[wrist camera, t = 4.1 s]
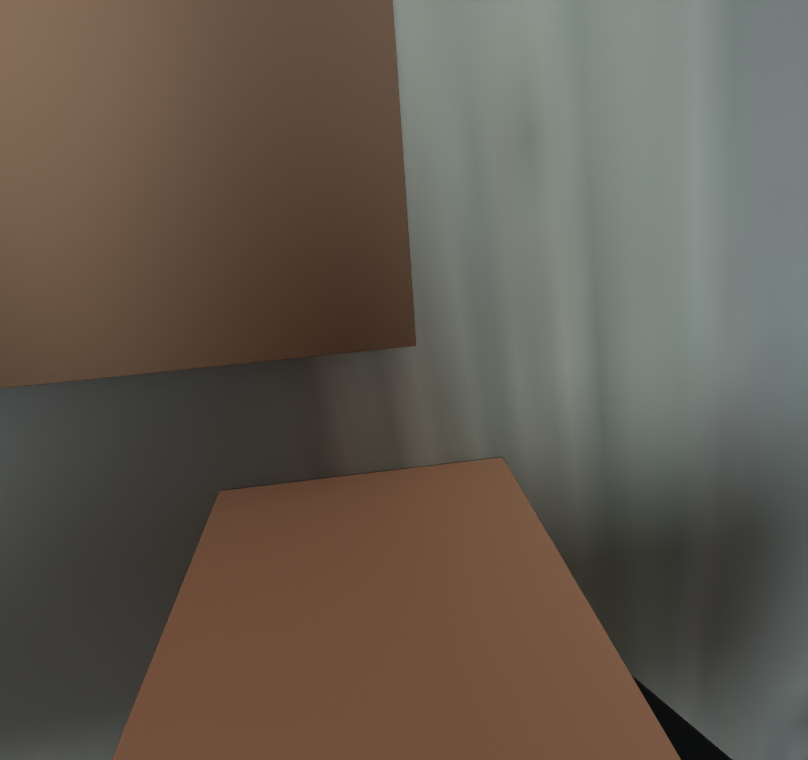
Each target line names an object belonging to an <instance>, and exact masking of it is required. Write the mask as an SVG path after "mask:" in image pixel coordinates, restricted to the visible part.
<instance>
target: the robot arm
mask: <svg viewBox="0 0 808 760" xmlns="http://www.w3.org/2000/svg"><path fill="white" fill-rule="evenodd" d="M631 676H632V675H631ZM632 677H633V676H632ZM633 679H634V681H635V683H636V684H637V686H638V688H639V689H640V691H641V693H642V694H643V696H644V698H645V700H646V701H647V703H648V705H649V706H650V708H651V710H652V711H653V713H654V715H655V716H656V718H657V720H658V722H659V723H660V725H661V727H662V728H663V730H664V732H665V733H666V735H667V737H668V739H669V740H670V742H671V744H672V745H673V747H674V749H675V750H676V752H677V754H678V756H679V757H680V759H681V760H732V759H731V758H730V757H728V756H727V755H726V754H725V753H724V752H722V751H721V750H720V749H719V748H718V747H716V746H715V745H714V744H713V743H712V742H711V741H709V740H708V739H707V738H706V737H705V736H703V735H702V734H701V733H700V732H699V731H697V730H696V729H695V728H694V727H693V726H692V725H690V724H689V723H688V722H687V721H686V720H684V719H683V718H682V717H681V716H680V715H678V714H677V713H676V712H675V711H674V710H672V709H671V708H670V707H669V706H668V705H667V704H665V703H664V702H663V701H662V700H661V699H659V698H658V697H657V696H656V695H655V694H653V693H652V692H651V691H650V690H649V689H648V688H646V687H645V686H644V685H643V684H642V683H640V682H639V681H638V680H637V679H636V678H634V677H633Z"/></svg>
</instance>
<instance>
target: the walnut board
mask: <svg viewBox="0 0 808 760" xmlns="http://www.w3.org/2000/svg"><path fill="white" fill-rule="evenodd" d="M408 346H416V337H415V322H414V308H413V293H412V279H411V264H410V249H409V235H408V220H407V205H406V191H405V176H404V162H403V147H402V132H401V118H400V103H399V88H398V74H397V59H396V45H395V30H394V15H393V1H392V0H0V388H9V387H19V386H28V385H38V384H48V383H58V382H67V381H77V380H87V379H97V378H106V377H116V376H126V375H135V374H145V373H155V372H165V371H174V370H184V369H194V368H204V367H213V366H223V365H233V364H242V363H252V362H262V361H272V360H281V359H291V358H301V357H311V356H320V355H330V354H340V353H349V352H359V351H369V350H379V349H388V348H398V347H408Z"/></svg>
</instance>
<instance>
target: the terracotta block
mask: <svg viewBox="0 0 808 760" xmlns="http://www.w3.org/2000/svg"><path fill="white" fill-rule="evenodd" d="M112 760H681V759H680V757H679V756H678V754H677V752H676V750H675V749H674V747H673V745H672V744H671V742H670V740H669V739H668V737H667V735H666V733H665V732H664V730H663V728H662V727H661V725H660V723H659V722H658V720H657V718H656V716H655V715H654V713H653V711H652V710H651V708H650V706H649V705H648V703H647V701H646V700H645V698H644V696H643V694H642V693H641V691H640V689H639V688H638V686H637V684H636V683H635V681H634V679H633V677H632V676H631V674H630V672H629V671H628V669H627V667H626V666H625V664H624V662H623V661H622V659H621V657H620V655H619V654H618V652H617V650H616V649H615V647H614V645H613V644H612V642H611V640H610V638H609V637H608V635H607V633H606V632H605V630H604V628H603V627H602V625H601V623H600V621H599V620H598V618H597V616H596V615H595V613H594V611H593V610H592V608H591V606H590V605H589V603H588V601H587V599H586V598H585V596H584V594H583V593H582V591H581V589H580V588H579V586H578V584H577V582H576V581H575V579H574V577H573V576H572V574H571V572H570V571H569V569H568V567H567V565H566V564H565V562H564V560H563V559H562V557H561V555H560V554H559V552H558V550H557V549H556V547H555V545H554V543H553V542H552V540H551V538H550V537H549V535H548V533H547V532H546V530H545V528H544V526H543V525H542V523H541V521H540V520H539V518H538V516H537V515H536V513H535V511H534V510H533V508H532V506H531V504H530V503H529V501H528V499H527V498H526V496H525V494H524V493H523V491H522V489H521V487H520V486H519V484H518V482H517V481H516V479H515V477H514V476H513V474H512V472H511V470H510V469H509V467H508V465H507V464H506V462H505V460H504V459H503V457H499V458H491V459H483V460H474V461H466V462H458V463H449V464H441V465H432V466H424V467H416V468H407V469H399V470H391V471H382V472H374V473H366V474H357V475H349V476H340V477H332V478H324V479H315V480H307V481H299V482H290V483H282V484H274V485H265V486H257V487H249V488H240V489H232V490H223V491H219V493H218V495H217V498H216V500H215V503H214V505H213V508H212V510H211V513H210V515H209V518H208V520H207V523H206V525H205V528H204V530H203V533H202V535H201V538H200V540H199V543H198V545H197V548H196V550H195V553H194V555H193V558H192V560H191V563H190V565H189V568H188V570H187V573H186V575H185V578H184V580H183V583H182V585H181V588H180V590H179V593H178V595H177V598H176V600H175V603H174V605H173V608H172V610H171V613H170V615H169V618H168V620H167V623H166V625H165V628H164V630H163V633H162V636H161V638H160V641H159V643H158V646H157V648H156V651H155V653H154V656H153V658H152V661H151V663H150V666H149V668H148V671H147V673H146V676H145V678H144V681H143V683H142V686H141V688H140V691H139V693H138V696H137V698H136V701H135V703H134V706H133V708H132V711H131V713H130V716H129V718H128V721H127V723H126V726H125V728H124V731H123V733H122V736H121V738H120V741H119V743H118V746H117V748H116V751H115V753H114V756H113V758H112Z"/></svg>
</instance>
